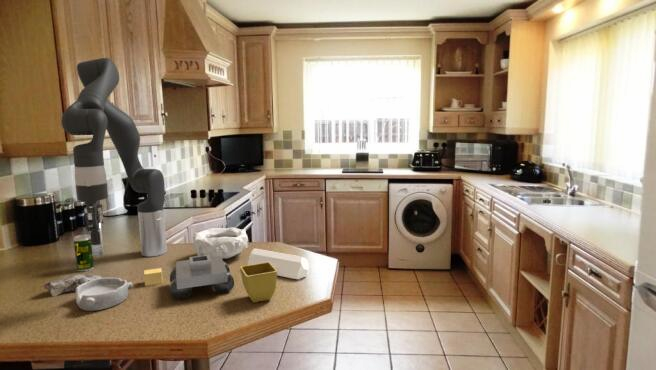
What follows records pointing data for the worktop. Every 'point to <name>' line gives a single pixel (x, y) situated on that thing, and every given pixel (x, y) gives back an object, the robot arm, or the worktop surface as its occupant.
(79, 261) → the beer can
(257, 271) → the flower pot
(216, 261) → the dolly
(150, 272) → the pale yellow block
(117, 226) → the worktop surface
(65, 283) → the mineral rock
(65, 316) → the worktop surface
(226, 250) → the bowl
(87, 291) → the dish
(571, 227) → the worktop surface
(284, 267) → the white faceted prism
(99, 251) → the pin
